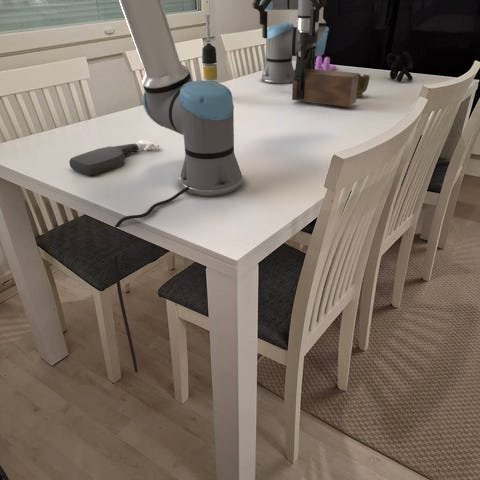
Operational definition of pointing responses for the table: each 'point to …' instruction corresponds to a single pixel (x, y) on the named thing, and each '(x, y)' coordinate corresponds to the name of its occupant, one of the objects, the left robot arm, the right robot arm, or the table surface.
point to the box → (328, 87)
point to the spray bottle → (106, 157)
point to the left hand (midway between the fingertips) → (288, 36)
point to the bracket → (326, 64)
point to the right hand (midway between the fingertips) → (303, 95)
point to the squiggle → (399, 66)
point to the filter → (209, 57)
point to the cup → (362, 84)
